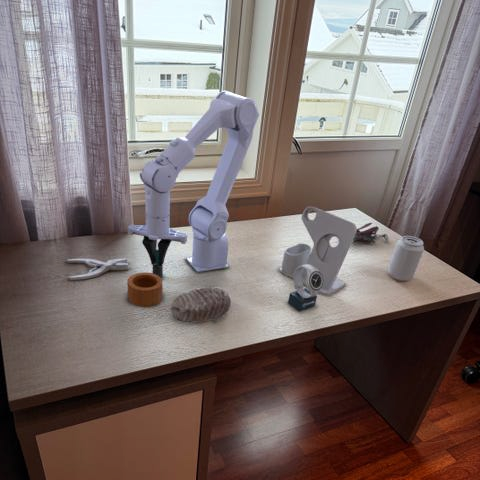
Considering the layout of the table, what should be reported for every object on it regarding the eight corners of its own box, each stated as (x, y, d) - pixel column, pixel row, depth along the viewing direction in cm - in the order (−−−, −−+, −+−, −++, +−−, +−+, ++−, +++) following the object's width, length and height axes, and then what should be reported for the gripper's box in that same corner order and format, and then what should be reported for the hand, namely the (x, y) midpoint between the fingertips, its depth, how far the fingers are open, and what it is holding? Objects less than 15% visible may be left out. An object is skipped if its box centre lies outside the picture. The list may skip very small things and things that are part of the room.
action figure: (372, 235, 158) (333, 239, 149) (377, 219, 155) (337, 222, 146) (388, 243, 152) (348, 248, 144) (393, 227, 149) (353, 230, 140)
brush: (160, 273, 118) (160, 246, 114) (164, 278, 117) (164, 251, 112) (151, 275, 117) (151, 248, 113) (154, 280, 116) (154, 252, 111)
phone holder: (276, 270, 127) (287, 210, 117) (297, 260, 134) (309, 203, 124) (326, 296, 119) (343, 234, 108) (346, 284, 125) (363, 224, 115)
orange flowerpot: (155, 286, 114) (155, 270, 111) (167, 302, 108) (167, 286, 105) (123, 291, 110) (123, 275, 107) (134, 309, 104) (133, 292, 102)
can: (413, 274, 135) (427, 238, 128) (410, 285, 129) (424, 248, 122) (388, 267, 137) (401, 231, 130) (384, 277, 131) (397, 240, 124)
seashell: (217, 285, 112) (224, 266, 103) (233, 317, 110) (242, 301, 100) (163, 304, 107) (166, 287, 98) (179, 338, 105) (183, 324, 95)
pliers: (66, 256, 118) (124, 252, 123) (67, 261, 119) (125, 257, 124) (68, 274, 110) (130, 270, 115) (69, 280, 111) (130, 275, 116)
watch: (304, 315, 110) (313, 277, 104) (283, 299, 115) (290, 262, 108) (320, 310, 113) (330, 272, 106) (299, 294, 118) (307, 257, 111)
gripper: (122, 215, 104) (124, 266, 112) (182, 225, 103) (180, 275, 111) (132, 204, 110) (134, 253, 118) (190, 213, 109) (187, 262, 117)
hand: (157, 263), depth 115 cm, fingers closed on brush
